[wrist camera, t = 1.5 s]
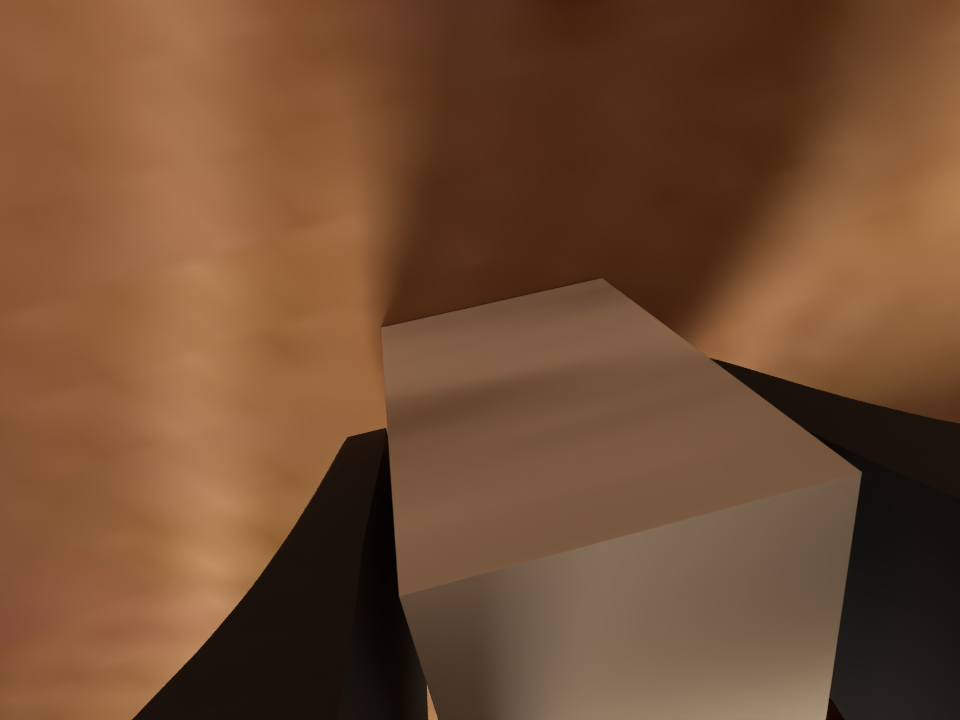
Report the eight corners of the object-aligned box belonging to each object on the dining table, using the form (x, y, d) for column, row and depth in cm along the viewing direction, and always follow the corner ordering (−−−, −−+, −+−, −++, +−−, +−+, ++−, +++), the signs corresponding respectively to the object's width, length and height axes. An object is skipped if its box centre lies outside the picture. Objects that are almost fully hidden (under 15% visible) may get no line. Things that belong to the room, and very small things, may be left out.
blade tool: (639, 749, 16) (774, 1067, 11) (502, 790, 16) (573, 1142, 11) (601, 277, 10) (861, 471, 5) (380, 327, 10) (398, 596, 5)
